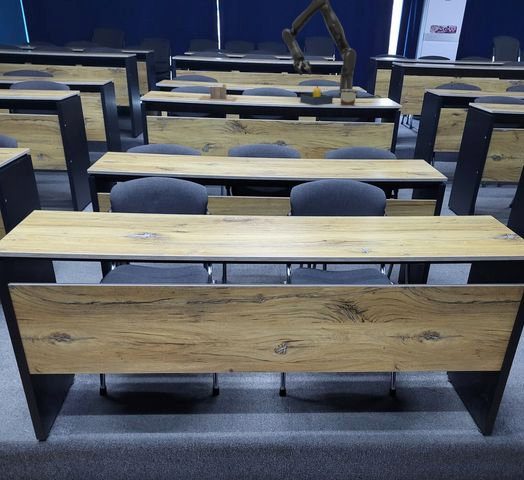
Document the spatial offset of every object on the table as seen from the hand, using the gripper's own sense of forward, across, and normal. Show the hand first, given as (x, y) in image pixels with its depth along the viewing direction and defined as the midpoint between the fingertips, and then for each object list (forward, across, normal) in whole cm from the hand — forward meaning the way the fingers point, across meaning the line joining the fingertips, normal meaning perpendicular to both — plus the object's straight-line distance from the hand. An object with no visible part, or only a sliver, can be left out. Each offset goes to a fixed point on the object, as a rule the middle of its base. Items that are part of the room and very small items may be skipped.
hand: (306, 74), depth 380 cm
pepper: (+22, 0, +2) cm, 22 cm away
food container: (+35, +14, -10) cm, 39 cm away
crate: (+22, 0, +2) cm, 22 cm away
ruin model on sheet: (-11, -56, +35) cm, 67 cm away
